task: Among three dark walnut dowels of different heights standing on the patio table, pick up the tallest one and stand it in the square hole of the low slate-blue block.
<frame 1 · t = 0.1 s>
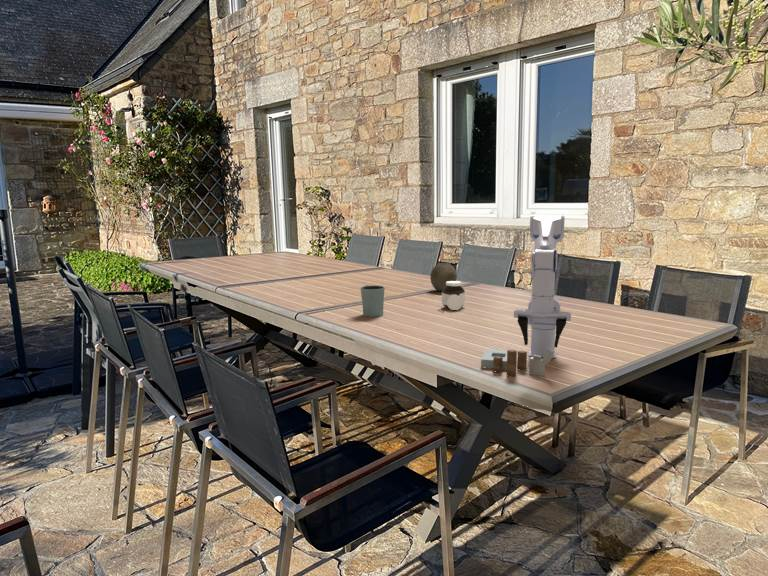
hand: (540, 345, 151), 10 cm above the table, tool pointing down, fingers open, 7 cm apart
grey-green cup: (372, 315, 241), on the table
spread jar: (454, 308, 254), on the table
socket block: (498, 363, 170), on the table
lighter: (541, 375, 159), on the table
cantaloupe: (443, 291, 300), on the table
medium dowel: (521, 368, 164), on the table
short dowel: (497, 371, 162), on the table
tall dowel: (511, 375, 158), on the table
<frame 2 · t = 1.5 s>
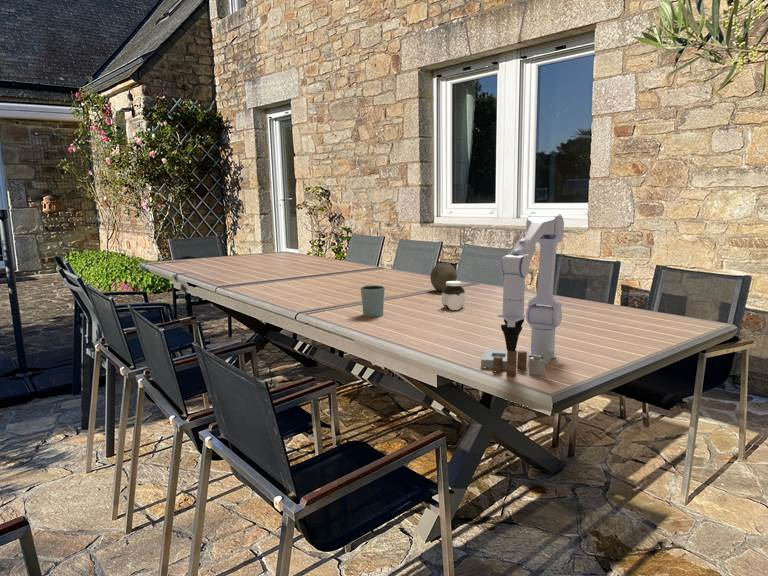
hand: (512, 347, 157), 8 cm above the table, tool pointing down, fingers open, 7 cm apart
nothing on the table moved.
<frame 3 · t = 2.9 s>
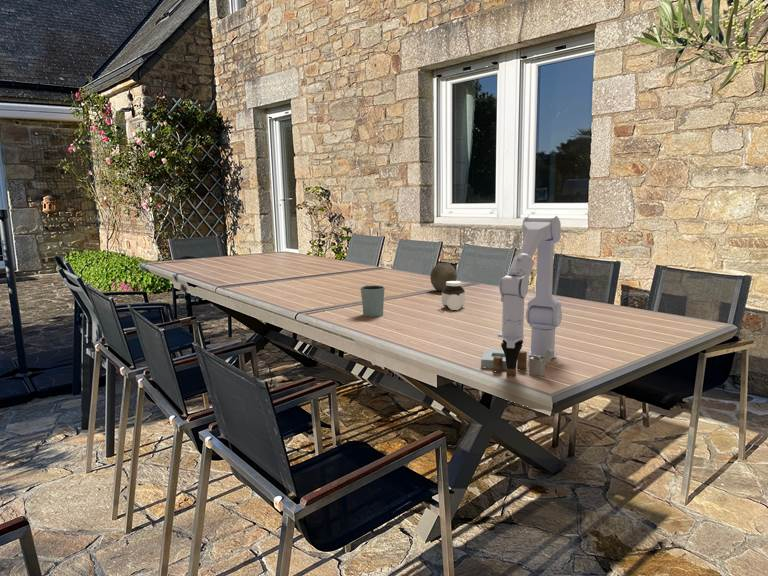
hand: (511, 366, 158), 2 cm above the table, tool pointing down, fingers closed on tall dowel, 3 cm apart
tall dowel: (511, 375, 158), on the table, touching gripper
everything else where it was.
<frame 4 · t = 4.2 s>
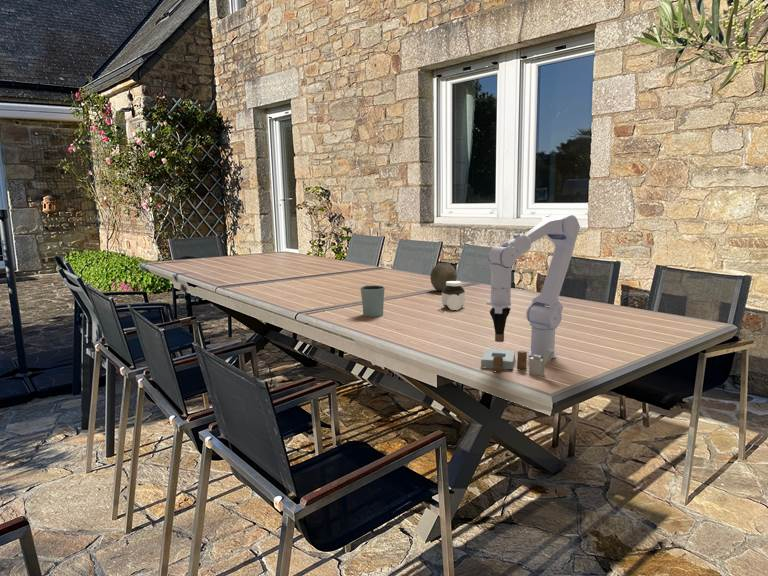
hand: (499, 332, 168), 9 cm above the table, tool pointing down, fingers closed on tall dowel, 3 cm apart
tall dowel: (499, 340, 169), point 7 cm above the table, touching gripper
everything else where it was.
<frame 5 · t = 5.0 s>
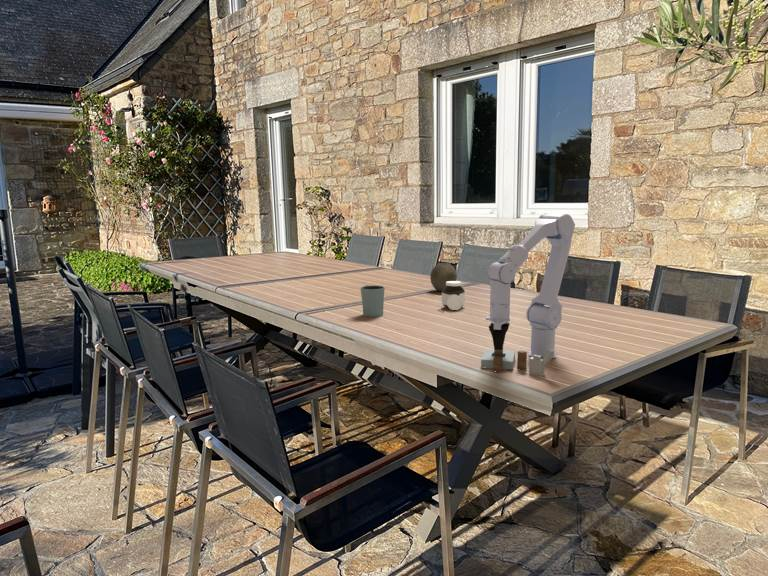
hand: (498, 348, 169), 5 cm above the table, tool pointing down, fingers closed on tall dowel, 3 cm apart
tall dowel: (498, 356, 170), point 2 cm above the table, touching gripper
everything else where it was.
when the fingers open (3 cm above the table, at t = 5.5 s): tall dowel stays where it is, resting in socket block.
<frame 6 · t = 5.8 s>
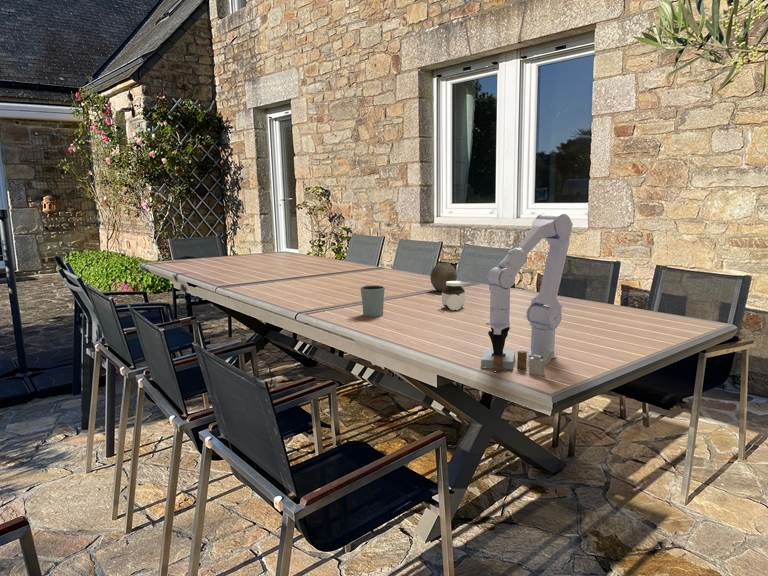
hand: (498, 352, 170), 3 cm above the table, tool pointing down, fingers open, 5 cm apart
tall dowel: (498, 363, 170), resting in socket block
everything else where it was.
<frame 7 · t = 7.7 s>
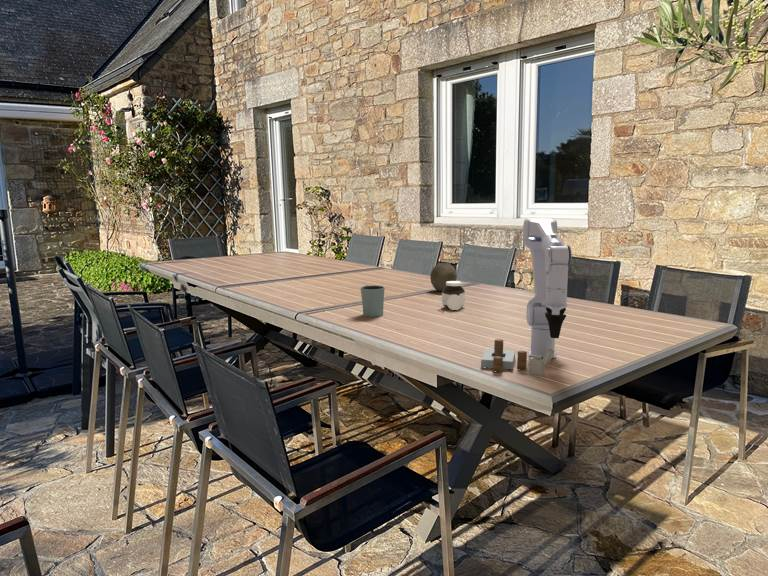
hand: (554, 334, 163), 10 cm above the table, tool pointing down, fingers open, 7 cm apart
nothing on the table moved.
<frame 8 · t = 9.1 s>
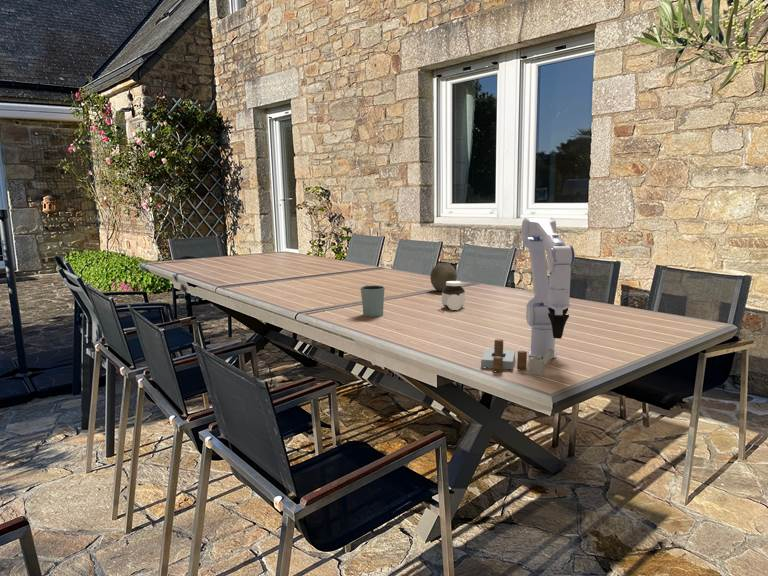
hand: (557, 335, 163), 10 cm above the table, tool pointing down, fingers open, 7 cm apart
nothing on the table moved.
at the end: tall dowel 0.0 cm off-centre on the socket block, point 0.0 cm above the socket block's base; tall dowel tilted 0°; the gripper is holding nothing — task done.
